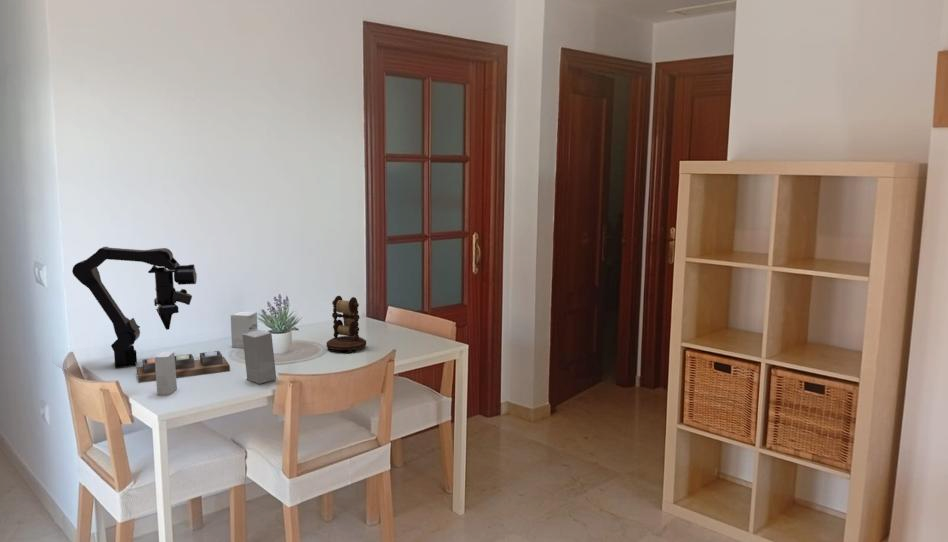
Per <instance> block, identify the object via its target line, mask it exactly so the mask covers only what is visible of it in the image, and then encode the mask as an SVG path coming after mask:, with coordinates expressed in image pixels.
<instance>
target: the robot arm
mask: <svg viewBox="0 0 948 542" xmlns="http://www.w3.org/2000/svg"><path fill="white" fill-rule="evenodd" d="M106 260H113V261H127V262H128V261H129V262H141V263H145V264H148V265H151V268H150V269H149V270H148V271H147V273H148V274H154V279H155V280H154V281H155V287H154V290H155V295H156V297H155V298H154V299H153V302H154V307H157V308H156V309H155V310H156V312H157V314H158V317H159V318H160V320H161V322H162V324H163V327H164V328H165V330H166V331H167V330H170V327H171V321H172V317H173V315H174V314H178V313H179V305H177V302H178V303H182V304H185V305H190V304H191V301H192V299H193V295H191V294H190V293H188V291H187V290H186V289H185V288H181V289H180V290H176V288H175V285H174V282H175V283H177V285H179V286H180V285H196V284H197V281H198V280H197V278H198V277H197V276H198V275H197V271H196V267H195V264H188V265H187V264H183V265H181V264H180V263H179V262H178V261H177V260H176V259H175V257H174V254H173V252H172V251H171V250H170V248H166V247H162V248H161V247H160V248H151V249H134V248H130V249H129V248H118V247H109V246H103V247H100V248H99V249H98V250H96V252H95V253H93V254H92V255H91V256H89V257H87V259H84V260H81V261H80V262H78V263H76V264H75V265H73V267H72V270H71V271H72V275H73V276H74V277H75V278H76V279H77V280H78V282H79V283H81V284H82V285H84V286H85V287H87V289H88V290H89V291H90V292H91V294H92V295H93V297H94V299H95V300H96V302H97V303H98V304H99V306H100V308H102V310H103V312H104V313H105V314H106V316H107V317H108V318H109V320H110V322H111V323H112V327H113V329H114V333H115V336H116V338H117V339H116V340H115V341H114V342H113V343H112V344H111V345H110V347H111V349H112V350H113V355H114V363H113V365H114V368H115V369H119V368H127V367H134V366H135V367H137V362H138V359H137V350H136V349H135V346H134V345H135V342H137V340H138V339H139V337H140V335H141V330H140V328H141V326H139V324H137V323H136V320H135V318H134V317H131V318H128V317H127V316H125V315H124V313H123V311H122V310H121V309H120V308H121V307H119V305H118V304H117V302H116V301H115V300H114V298H113V297H112V295H111V293H110V292H109V291H108V289H107V288H106V286H105V285H104V282H102V279H101V274H100V272H99V269H98V267H100V265H102V264H103V263H104V262H105V261H106Z"/></svg>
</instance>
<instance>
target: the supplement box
mask: <svg viewBox="0 0 948 542" xmlns="http://www.w3.org/2000/svg"><path fill="white" fill-rule="evenodd" d="M257 330H259V329H258V313H257V311H238V312H236V313H233V314H231V315H230V332H231V334H230V335H231V347H232V348H237V349H244V345H243V336H242V334H244V333H248V332H252V331H257Z"/></svg>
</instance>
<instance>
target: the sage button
mask: <svg viewBox="0 0 948 542" xmlns="http://www.w3.org/2000/svg"><path fill="white" fill-rule="evenodd" d="M176 356H177V357H176V360H182V359H189V355H187V354H180V355H179V354H178V355H176Z"/></svg>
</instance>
